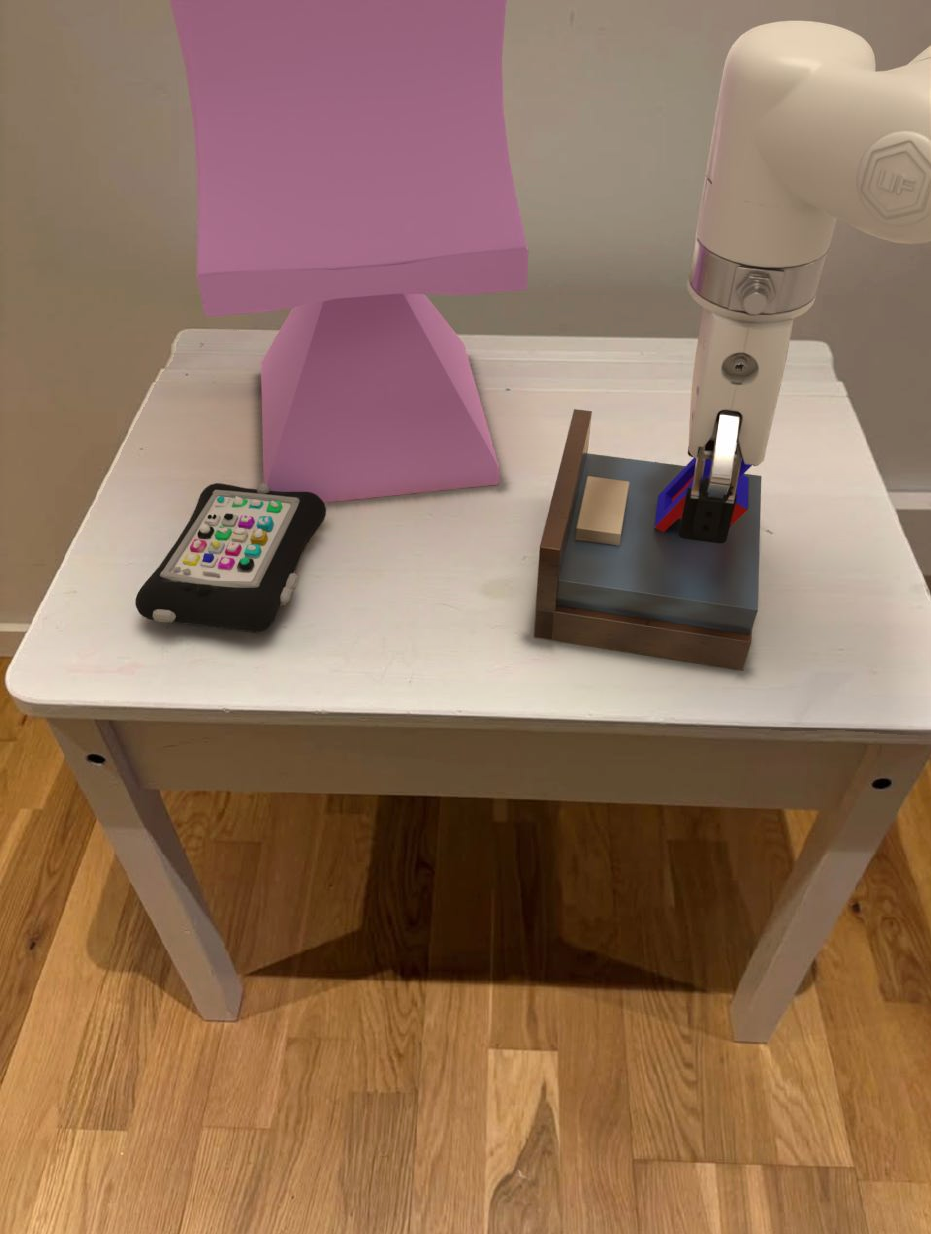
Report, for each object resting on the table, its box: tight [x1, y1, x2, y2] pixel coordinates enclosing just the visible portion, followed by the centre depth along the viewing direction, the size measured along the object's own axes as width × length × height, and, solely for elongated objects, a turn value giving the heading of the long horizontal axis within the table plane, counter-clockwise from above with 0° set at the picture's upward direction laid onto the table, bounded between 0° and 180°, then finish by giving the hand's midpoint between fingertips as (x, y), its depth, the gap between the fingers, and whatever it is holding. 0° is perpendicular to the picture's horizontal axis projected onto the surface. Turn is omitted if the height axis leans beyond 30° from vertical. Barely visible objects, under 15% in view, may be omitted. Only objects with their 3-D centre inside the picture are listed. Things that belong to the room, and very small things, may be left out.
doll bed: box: [533, 408, 762, 671], centre depth 73 cm, size 15×16×9 cm
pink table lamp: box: [168, 0, 529, 504], centre depth 73 cm, size 22×22×45 cm
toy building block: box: [655, 456, 753, 532], centre depth 70 cm, size 4×4×8 cm
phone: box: [134, 482, 327, 634], centre depth 75 cm, size 11×15×4 cm
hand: (705, 495), depth 71 cm, fingers open, 8 cm apart
